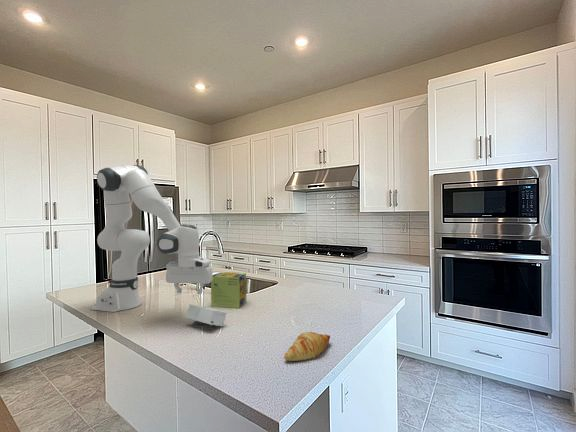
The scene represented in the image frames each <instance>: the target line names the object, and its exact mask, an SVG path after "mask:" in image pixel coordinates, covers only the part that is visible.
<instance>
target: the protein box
mask: <svg viewBox="0 0 576 432" xmlns="http://www.w3.org/2000/svg"><path fill="white" fill-rule="evenodd" d="M212 275H213V280H212V281H211V282H210V306H211V307H214V308H215V307H216V308H217V307H218V308H229V309H230V308H231V309H240V308H241V307H243V306H244V305H245V304H246V303H247V272H233V271H230V272H227V271H219V272H217V273H215V274H212Z"/></svg>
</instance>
